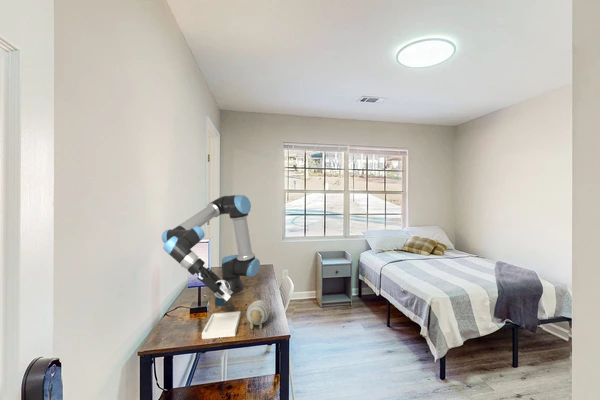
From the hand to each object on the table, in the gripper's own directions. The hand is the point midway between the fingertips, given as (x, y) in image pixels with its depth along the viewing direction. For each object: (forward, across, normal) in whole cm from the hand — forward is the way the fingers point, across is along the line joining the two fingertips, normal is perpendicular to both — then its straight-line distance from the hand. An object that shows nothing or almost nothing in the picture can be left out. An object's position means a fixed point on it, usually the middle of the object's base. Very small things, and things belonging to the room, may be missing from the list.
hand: (229, 296), depth 120 cm
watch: (0, 0, -5) cm, 5 cm away
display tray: (+7, 0, -12) cm, 14 cm away
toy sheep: (+20, +1, 0) cm, 20 cm away
